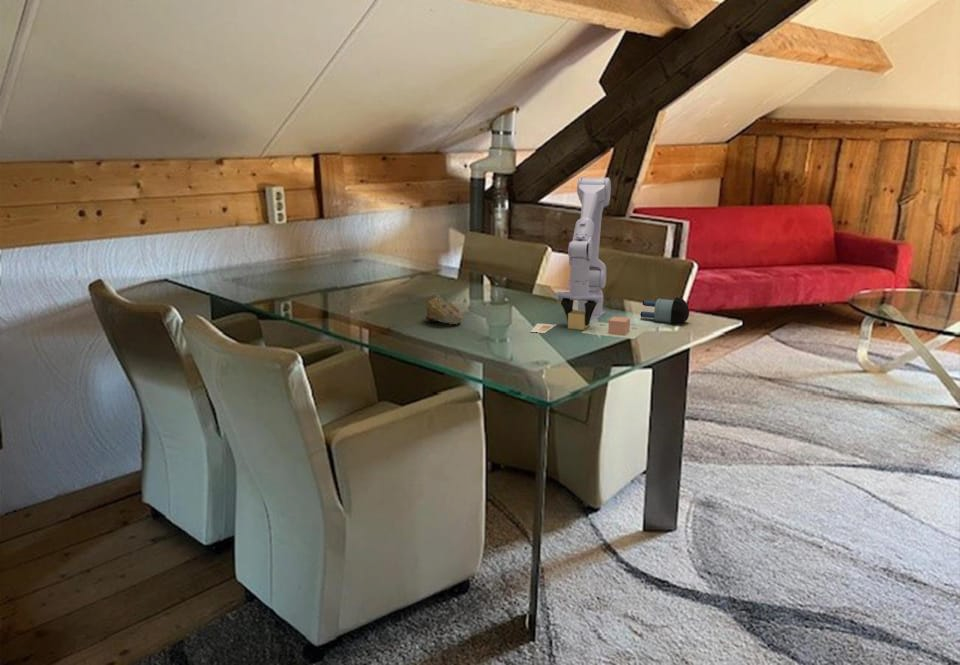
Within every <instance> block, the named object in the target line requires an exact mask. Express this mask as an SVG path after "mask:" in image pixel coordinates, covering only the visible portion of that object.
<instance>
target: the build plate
mask: <svg viewBox="0 0 960 665" xmlns="http://www.w3.org/2000/svg"><path fill="white" fill-rule="evenodd" d="M647 328H648V327H647V326H639V325H631V324H630V331H629V332H628V333H627V334H626V335H617V334H609V333H608V329H609V322H602V321H595V322H594V323H592V324H591V325H589V326H588V327H587V328H585V329H584V330H583V331H582V332H581V334H588V335H598V336H605V337H606V336H607V337H615V338H622V339H631V340H635V339H636V338H637V337H638V336H639V335H640V334H642V333H643V332H644V331H645V330H646V329H647Z"/></svg>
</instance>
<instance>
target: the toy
mask: <svg viewBox="0 0 960 665" xmlns="http://www.w3.org/2000/svg"><path fill="white" fill-rule="evenodd" d="M642 306H644V307H652V308H653V307H654V311H652V312H651V311H641V312H640V318H648V319H654V321H655V322H656V323H657V322H658V323H659V322H660V323H667V324H671V325H681V324H683V323H685V322H687V320H688V319H689V317H690V308H689V304H688V303H687V301H686V300H684V299H683V298H682V297H678V296H676V297H675V298H674V299H663V298H658V299H657V300H656V301H652V300H643V301H642Z"/></svg>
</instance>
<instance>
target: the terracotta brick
mask: <svg viewBox="0 0 960 665" xmlns="http://www.w3.org/2000/svg"><path fill="white" fill-rule="evenodd" d="M608 323H609V329H608V333H609V334H617V335H626V334H627V333H628V332H629V331H630V325H631V317H622V316H621V317H620V316H613V317H611V318H610V319H609V320H608Z"/></svg>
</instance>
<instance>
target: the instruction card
mask: <svg viewBox="0 0 960 665" xmlns="http://www.w3.org/2000/svg"><path fill="white" fill-rule="evenodd" d="M556 326H557V324H552V323H551V324H549V323H536V324H535V325H534V326H533V328H532V329H531V330H530V331H529V332H537V333H536V334H546V332H548V331H550V330H551V329H553V328H554V327H556Z"/></svg>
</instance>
